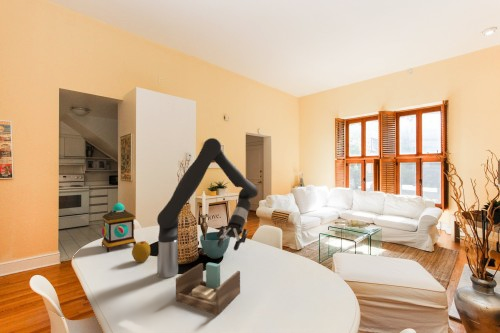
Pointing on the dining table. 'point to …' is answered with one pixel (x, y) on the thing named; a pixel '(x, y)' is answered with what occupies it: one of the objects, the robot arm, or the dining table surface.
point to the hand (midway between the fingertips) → (226, 248)
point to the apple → (141, 251)
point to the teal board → (212, 275)
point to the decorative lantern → (118, 227)
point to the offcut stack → (204, 293)
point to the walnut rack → (195, 278)
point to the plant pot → (213, 245)
